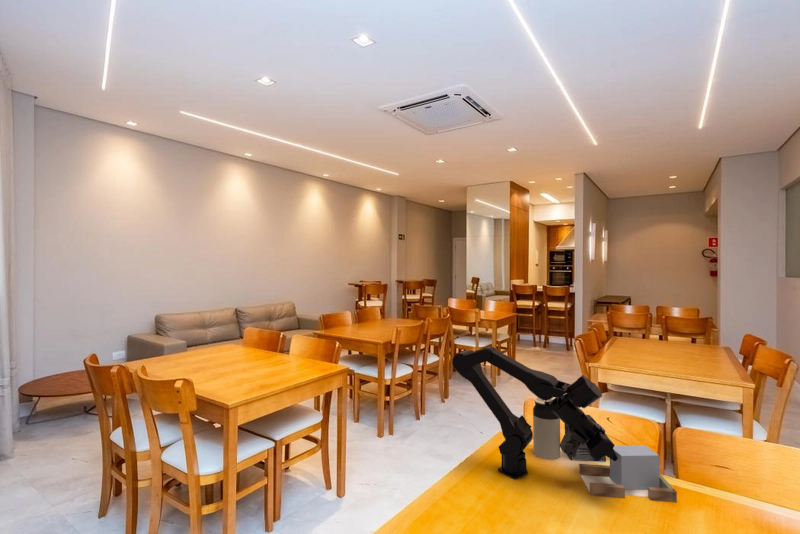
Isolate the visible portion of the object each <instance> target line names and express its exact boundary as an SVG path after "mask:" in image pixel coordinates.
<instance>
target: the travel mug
mask: <svg viewBox="0 0 800 534" xmlns="http://www.w3.org/2000/svg"><path fill="white" fill-rule="evenodd" d="M555 398H556V397H553V398H551V399H549V400H542V399H540V398H538V397H537V396H536V397H534V398H533V401H534V406H533V408H532V422H533V423H532V427H533V429H532V433H533V438H532V440H533V443H532V445H533V455H534V456H536V457H538V458H540V459H543V460H548V461H551V460H552V461H554V460H559V458H561V448H560V443H561V419H560V418H559V417H558V416H557V415H556V414H555V413H554V412H553V411H552V412H551V413H549V414H548V415H545V407H544V403H545V401H546V402H549V401H552V400H553V399H555Z"/></svg>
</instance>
